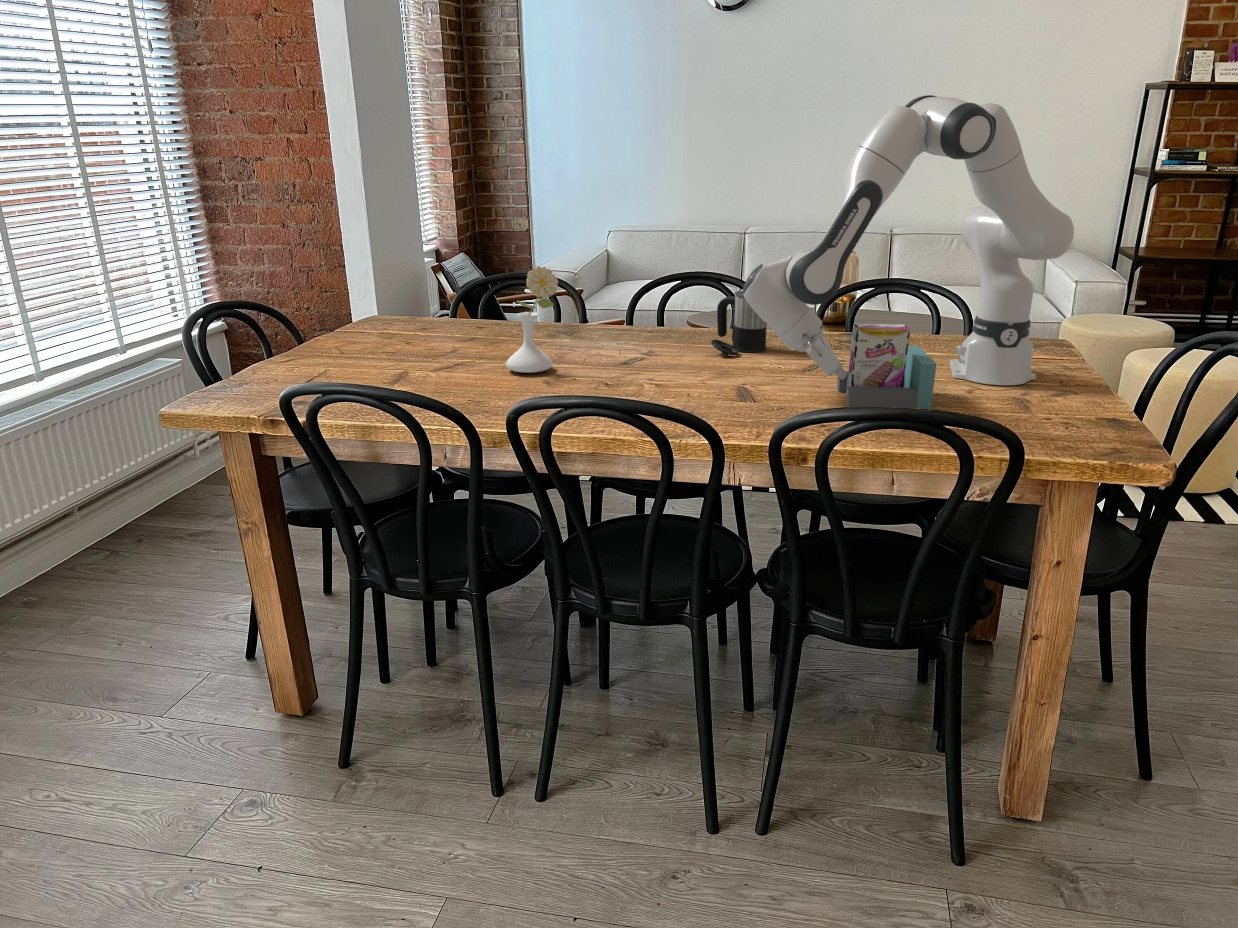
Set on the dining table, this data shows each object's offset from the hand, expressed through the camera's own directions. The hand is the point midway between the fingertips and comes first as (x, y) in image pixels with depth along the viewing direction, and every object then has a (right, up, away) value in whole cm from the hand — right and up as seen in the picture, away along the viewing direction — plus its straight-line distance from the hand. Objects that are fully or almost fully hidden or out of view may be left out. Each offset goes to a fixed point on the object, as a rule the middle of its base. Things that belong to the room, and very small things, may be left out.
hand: (844, 376), depth 198 cm
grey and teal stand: (+8, -5, +1) cm, 9 cm away
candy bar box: (+6, -6, 0) cm, 8 cm away
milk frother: (-17, +10, +43) cm, 47 cm away
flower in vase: (-69, +4, +25) cm, 74 cm away
